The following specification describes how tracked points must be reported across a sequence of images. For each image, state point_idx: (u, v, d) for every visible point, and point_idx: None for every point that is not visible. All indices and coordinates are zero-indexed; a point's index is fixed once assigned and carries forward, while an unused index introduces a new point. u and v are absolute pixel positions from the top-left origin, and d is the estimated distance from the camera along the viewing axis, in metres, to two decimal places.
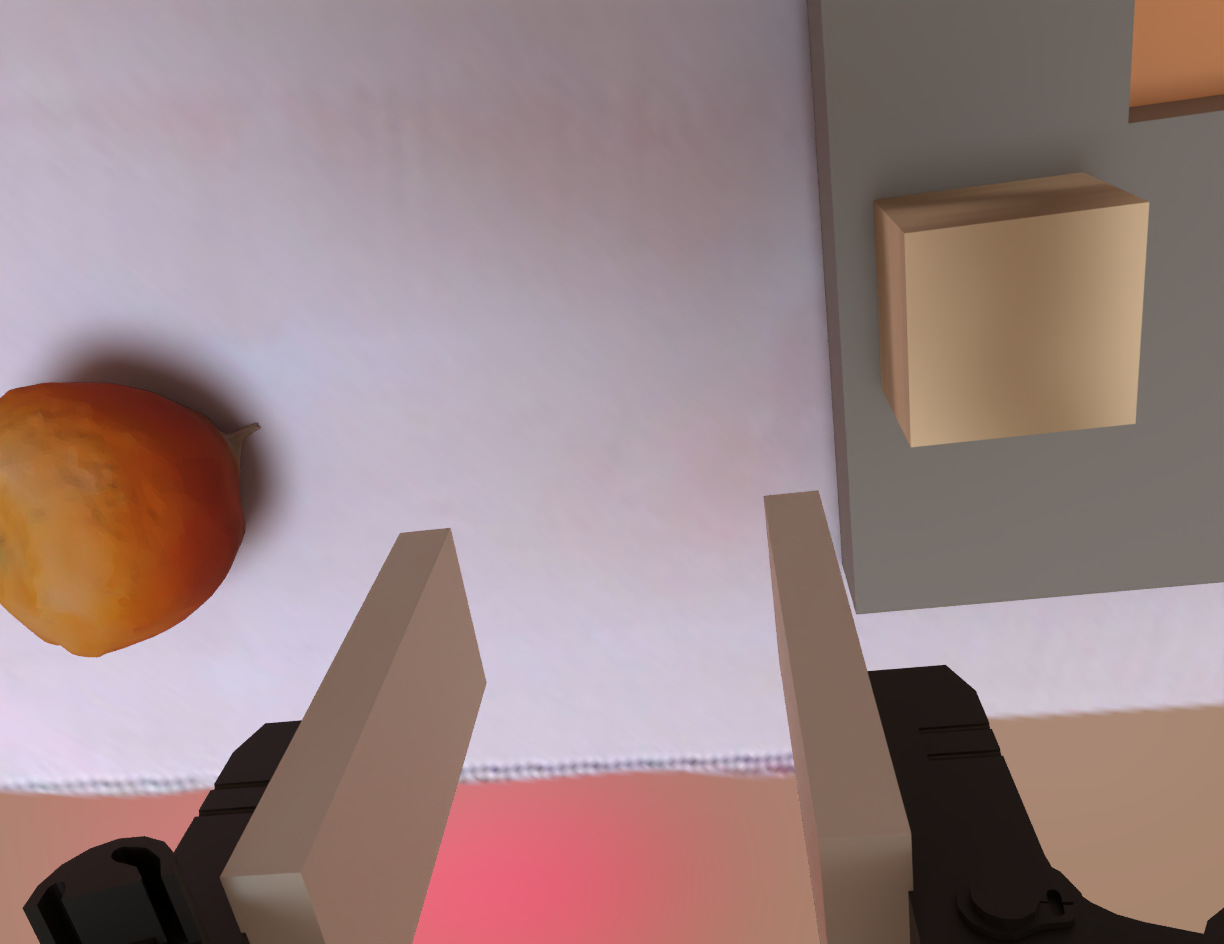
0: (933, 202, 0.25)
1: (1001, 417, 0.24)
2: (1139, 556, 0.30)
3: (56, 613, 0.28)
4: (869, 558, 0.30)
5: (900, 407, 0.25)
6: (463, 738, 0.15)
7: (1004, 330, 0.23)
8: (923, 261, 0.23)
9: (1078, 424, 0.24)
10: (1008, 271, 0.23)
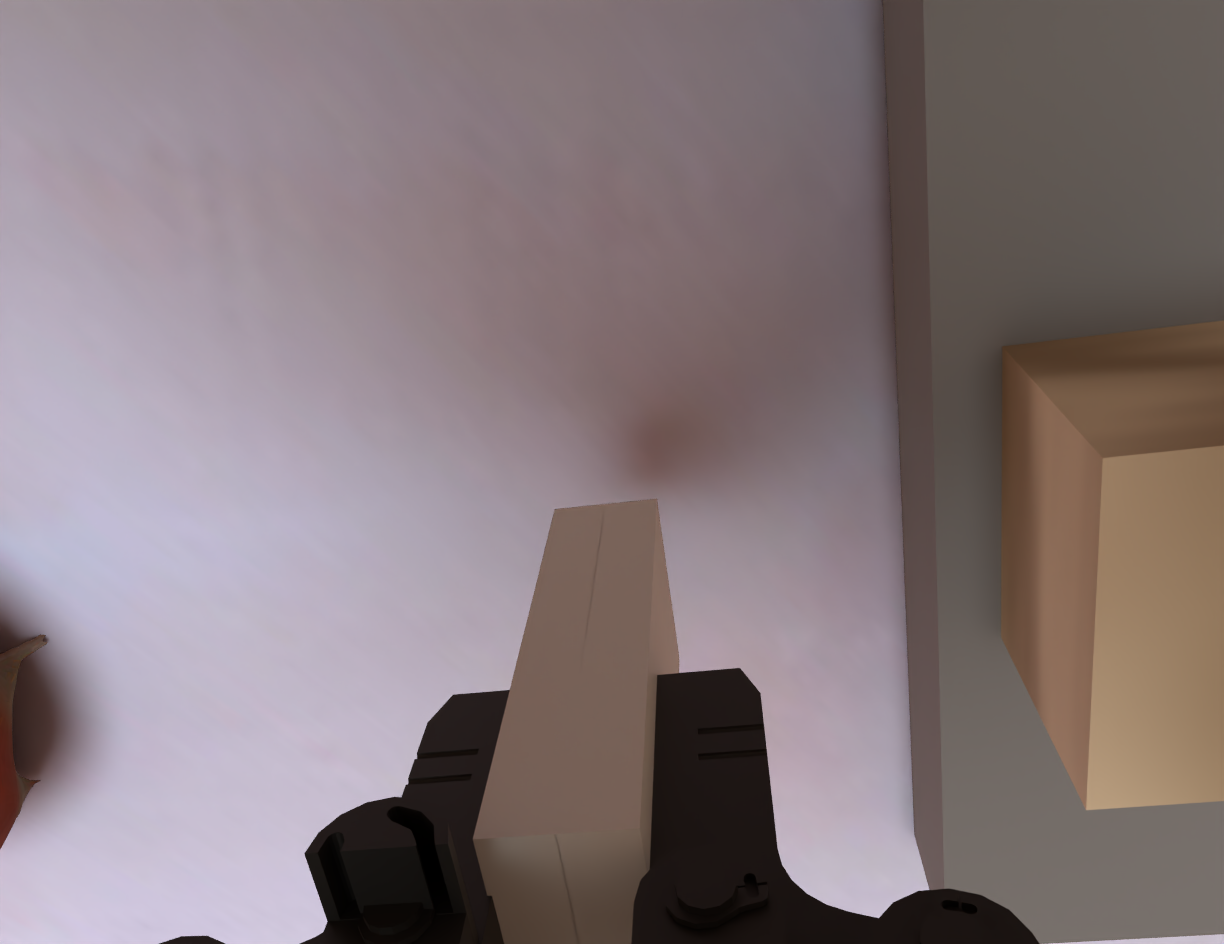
0: (1121, 364, 0.14)
1: None
2: None
3: None
4: (969, 875, 0.19)
5: (1057, 718, 0.14)
6: None
7: None
8: (1136, 507, 0.12)
9: None
10: None
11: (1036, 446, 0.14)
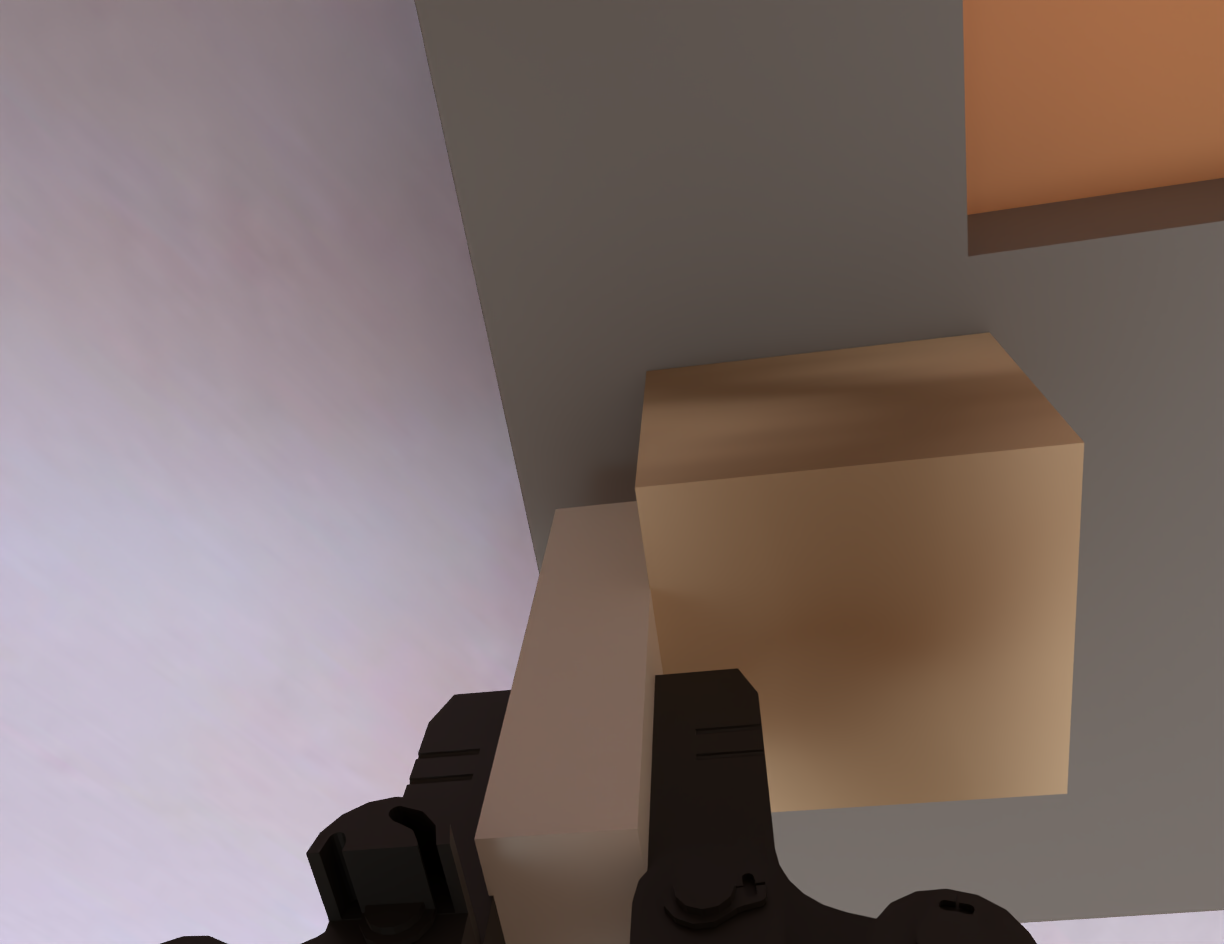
0: (729, 391, 0.15)
1: (834, 778, 0.14)
2: (1033, 879, 0.20)
3: None
4: None
5: None
6: None
7: (828, 646, 0.13)
8: (675, 533, 0.12)
9: (968, 792, 0.14)
10: (829, 552, 0.12)
11: None
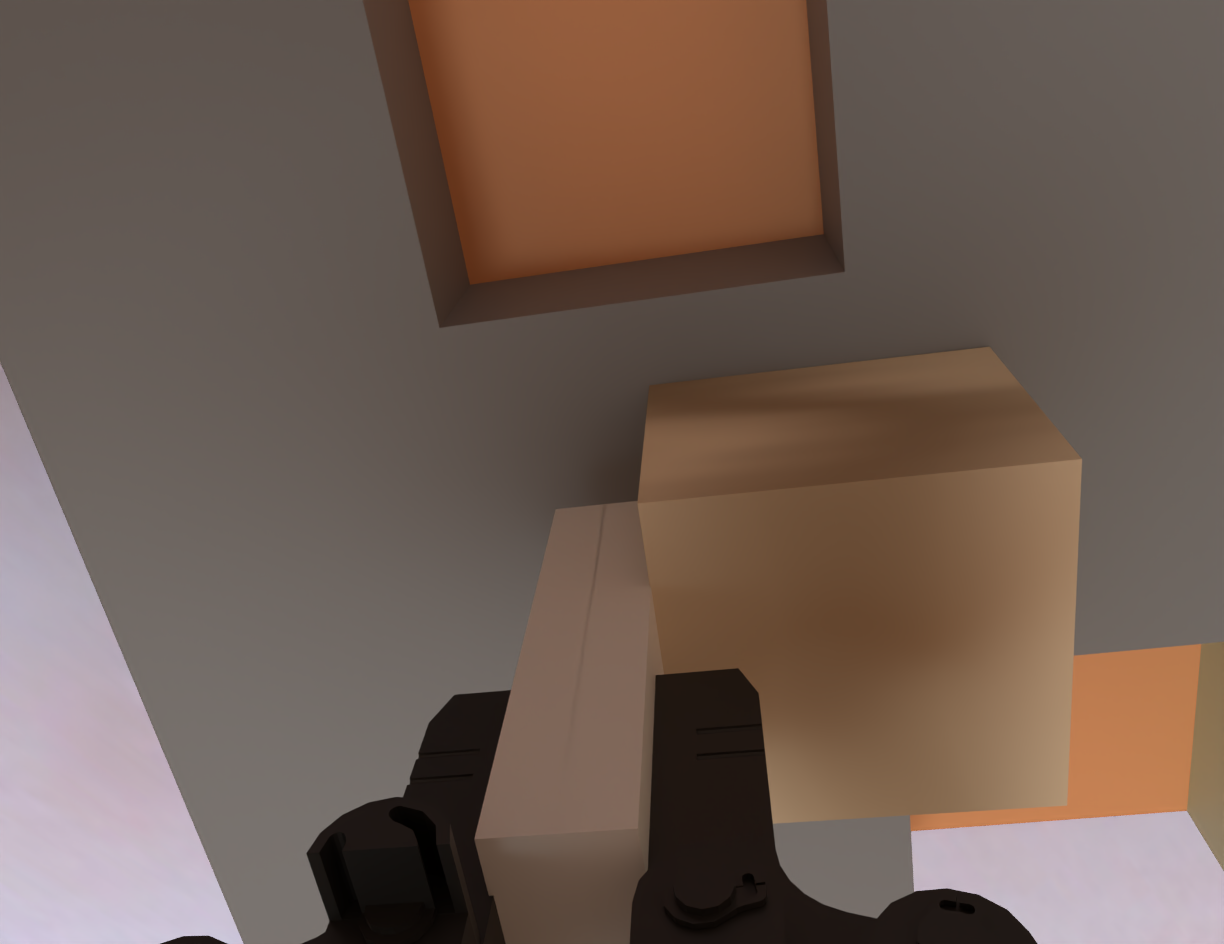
0: (731, 406, 0.15)
1: (835, 790, 0.14)
2: None
3: None
4: (249, 902, 0.21)
5: None
6: None
7: (829, 661, 0.13)
8: (677, 549, 0.13)
9: (968, 804, 0.14)
10: (829, 567, 0.12)
11: None
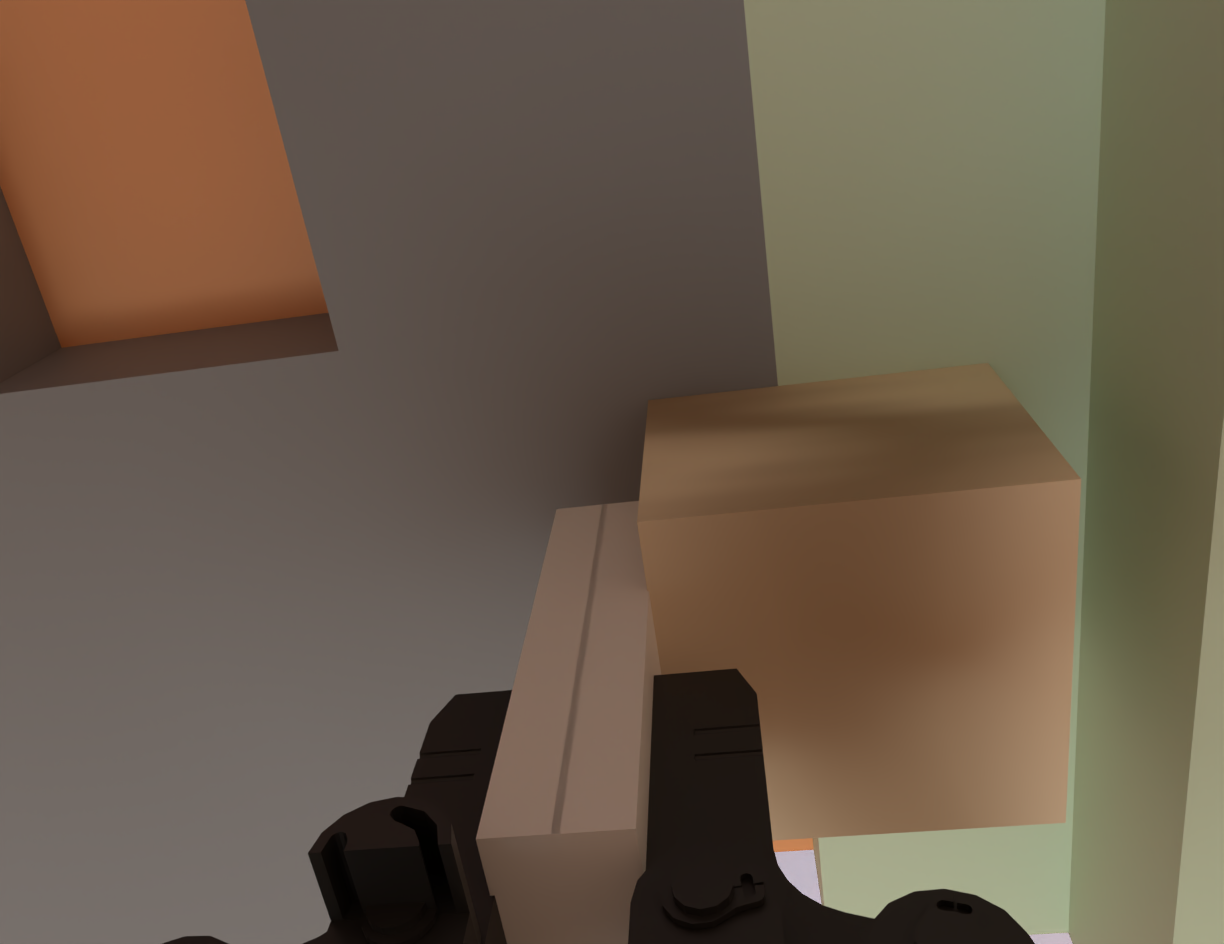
0: (730, 422, 0.15)
1: (834, 807, 0.14)
2: (248, 937, 0.21)
3: None
4: None
5: None
6: None
7: (828, 679, 0.13)
8: (677, 566, 0.13)
9: (968, 821, 0.14)
10: (828, 586, 0.12)
11: None
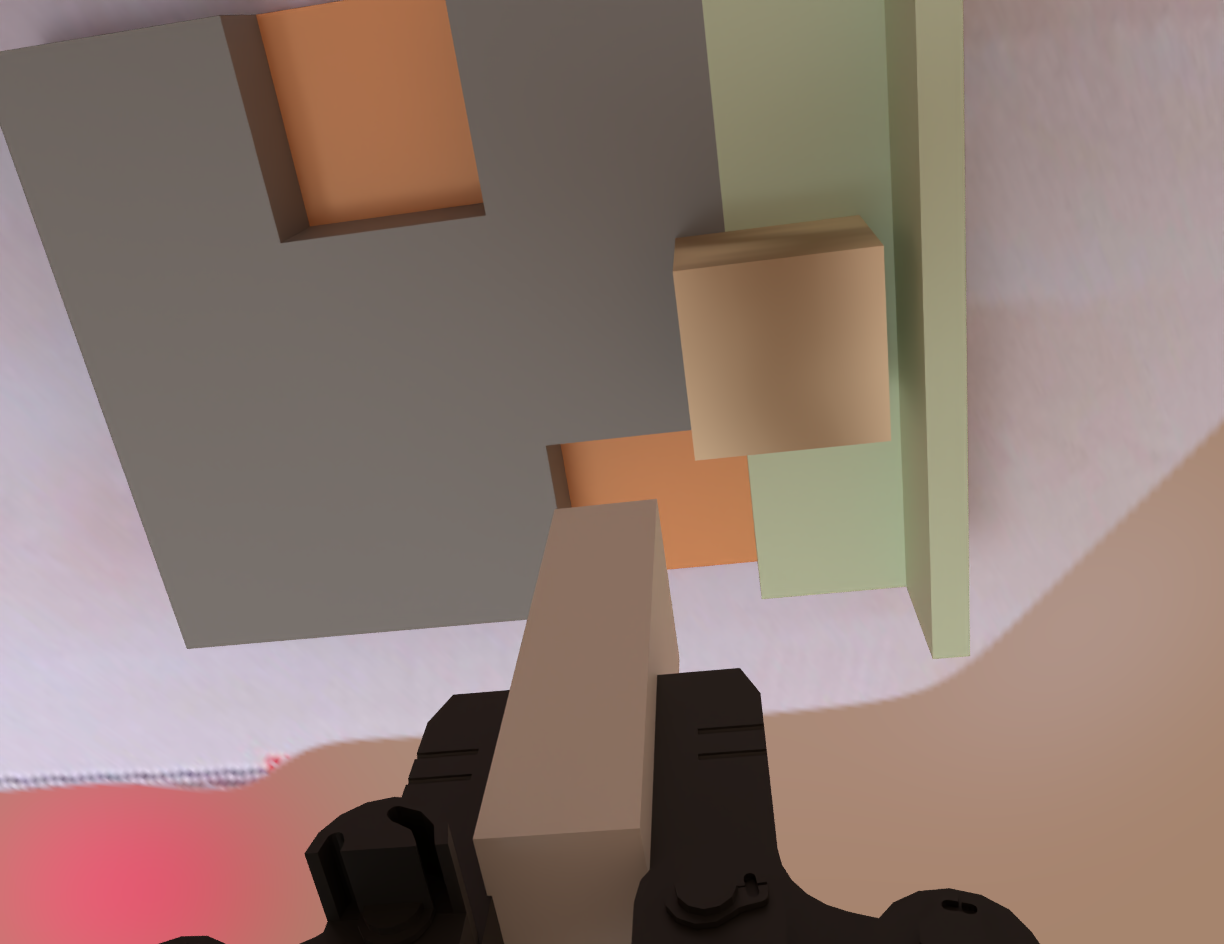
0: (719, 241, 0.28)
1: (772, 434, 0.27)
2: (404, 601, 0.34)
3: None
4: (183, 601, 0.35)
5: None
6: None
7: (767, 357, 0.26)
8: (692, 295, 0.26)
9: (841, 441, 0.27)
10: (766, 305, 0.26)
11: None
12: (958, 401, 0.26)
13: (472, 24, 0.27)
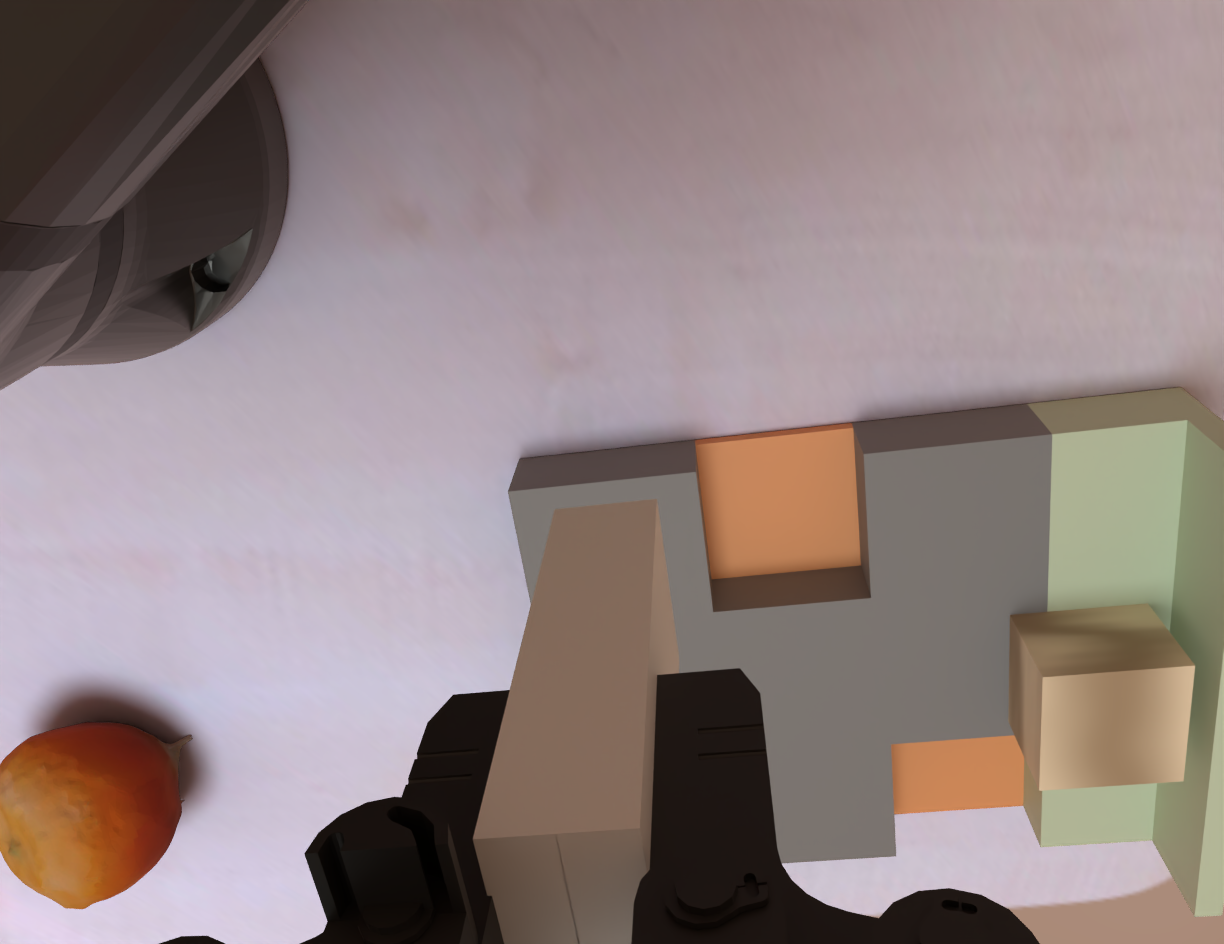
0: (1052, 630, 0.39)
1: (1098, 775, 0.38)
2: None
3: (54, 890, 0.44)
4: None
5: (1029, 757, 0.39)
6: None
7: (1102, 729, 0.37)
8: (1054, 692, 0.36)
9: (1147, 780, 0.38)
10: (1106, 698, 0.36)
11: (1022, 659, 0.39)
12: None
13: (881, 481, 0.38)
